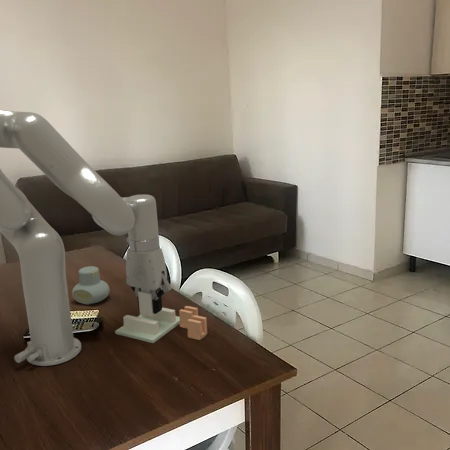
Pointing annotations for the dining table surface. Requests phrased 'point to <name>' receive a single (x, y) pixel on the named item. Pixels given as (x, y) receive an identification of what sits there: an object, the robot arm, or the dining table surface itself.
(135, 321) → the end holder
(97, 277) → the air freshener
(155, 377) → the dining table surface
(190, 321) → the clips
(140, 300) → the block
